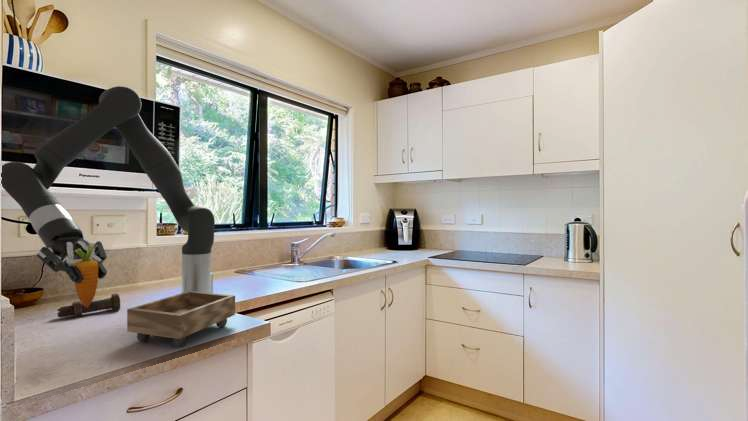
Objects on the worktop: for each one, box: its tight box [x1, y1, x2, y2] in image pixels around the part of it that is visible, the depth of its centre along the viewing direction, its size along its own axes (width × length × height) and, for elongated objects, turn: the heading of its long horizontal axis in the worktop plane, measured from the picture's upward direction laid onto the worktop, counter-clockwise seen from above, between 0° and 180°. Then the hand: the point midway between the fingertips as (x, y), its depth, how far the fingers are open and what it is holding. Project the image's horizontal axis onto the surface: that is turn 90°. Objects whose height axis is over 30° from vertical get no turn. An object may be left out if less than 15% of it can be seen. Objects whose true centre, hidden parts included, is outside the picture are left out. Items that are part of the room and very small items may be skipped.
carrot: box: [74, 245, 99, 307], centre depth 89 cm, size 5×5×15 cm
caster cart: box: [126, 291, 236, 348], centre depth 98 cm, size 20×16×8 cm
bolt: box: [57, 293, 121, 318], centre depth 114 cm, size 6×5×15 cm
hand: (92, 278), depth 88 cm, fingers closed on carrot, 5 cm apart
